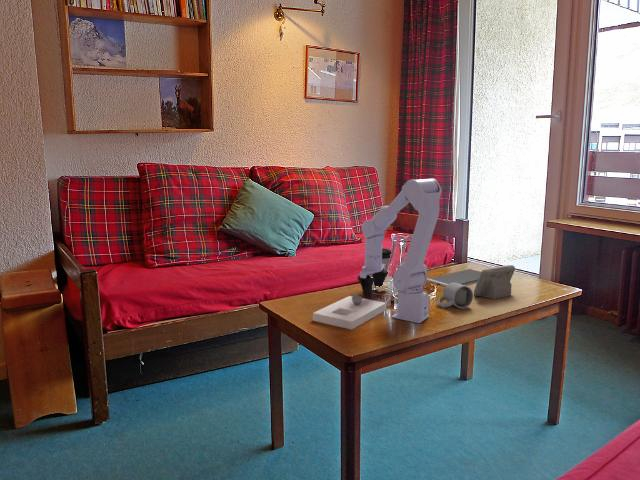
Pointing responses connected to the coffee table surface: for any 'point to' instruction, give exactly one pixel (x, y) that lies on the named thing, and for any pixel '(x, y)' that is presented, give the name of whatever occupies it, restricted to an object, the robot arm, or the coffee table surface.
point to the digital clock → (495, 282)
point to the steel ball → (357, 299)
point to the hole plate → (349, 312)
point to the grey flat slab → (457, 278)
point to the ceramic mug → (456, 296)
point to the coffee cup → (385, 257)
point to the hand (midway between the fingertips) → (372, 294)
